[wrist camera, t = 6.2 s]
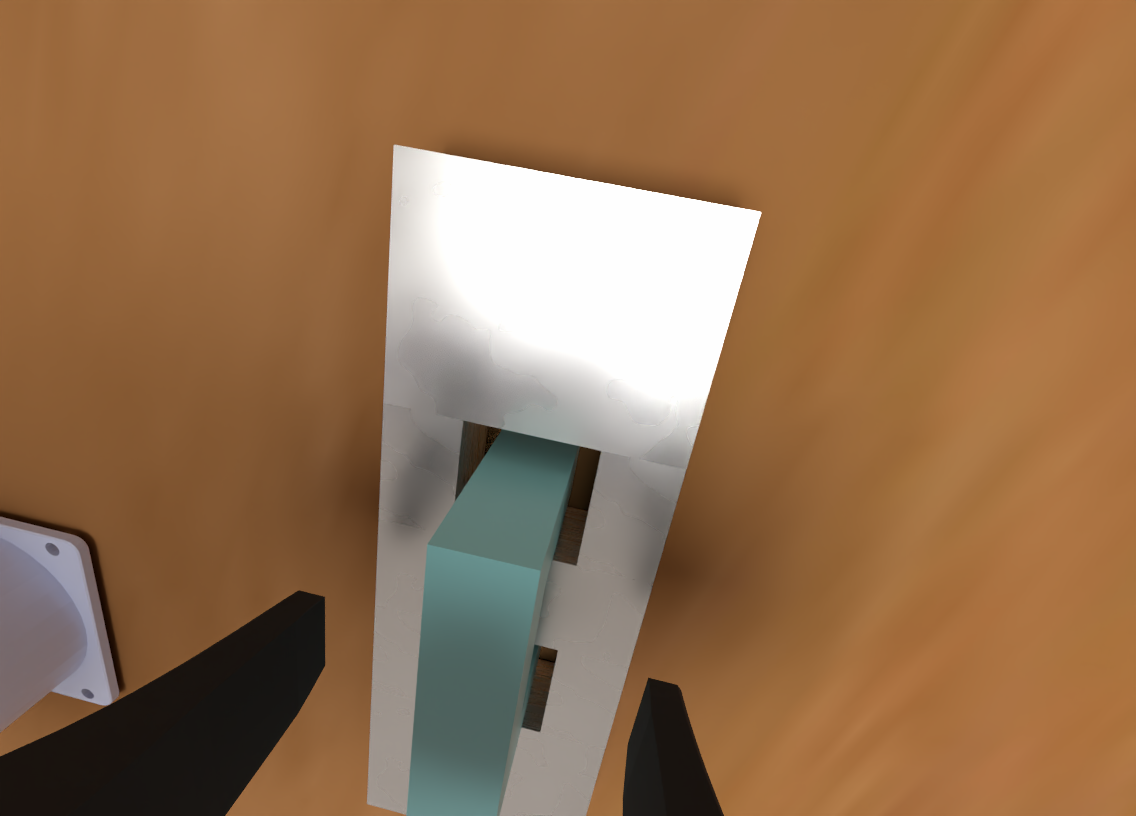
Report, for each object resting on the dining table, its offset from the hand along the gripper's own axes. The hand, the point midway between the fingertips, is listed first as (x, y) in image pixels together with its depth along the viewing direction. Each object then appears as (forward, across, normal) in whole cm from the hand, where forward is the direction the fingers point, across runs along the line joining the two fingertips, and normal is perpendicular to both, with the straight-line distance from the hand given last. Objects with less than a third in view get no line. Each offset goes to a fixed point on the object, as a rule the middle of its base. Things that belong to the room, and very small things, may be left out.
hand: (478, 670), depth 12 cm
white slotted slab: (+5, 0, 0) cm, 5 cm away
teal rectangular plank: (+5, 0, 0) cm, 5 cm away
